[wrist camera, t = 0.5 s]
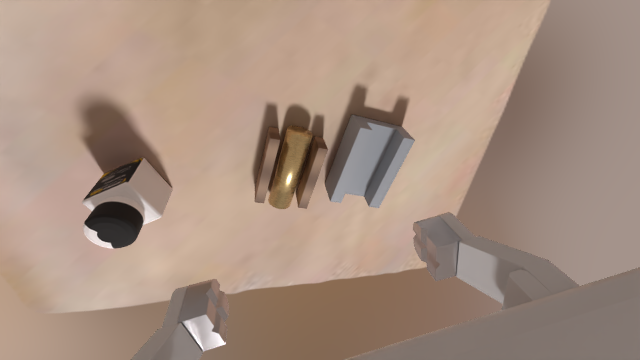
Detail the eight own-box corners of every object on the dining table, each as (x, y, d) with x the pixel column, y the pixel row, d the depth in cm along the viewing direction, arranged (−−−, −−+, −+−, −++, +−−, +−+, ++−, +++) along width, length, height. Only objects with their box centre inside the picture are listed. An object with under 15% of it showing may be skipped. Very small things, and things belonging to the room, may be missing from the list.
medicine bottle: (143, 155, 43) (111, 206, 34) (173, 189, 48) (152, 242, 38) (102, 173, 44) (59, 228, 34) (136, 204, 48) (105, 261, 38)
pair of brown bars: (269, 126, 44) (269, 138, 41) (323, 137, 47) (327, 149, 44) (255, 187, 50) (254, 202, 47) (303, 194, 53) (306, 208, 50)
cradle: (351, 114, 46) (360, 127, 42) (401, 126, 48) (414, 140, 44) (324, 184, 53) (330, 201, 49) (370, 191, 56) (378, 207, 52)
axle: (286, 123, 45) (288, 134, 41) (310, 128, 46) (314, 140, 43) (267, 193, 52) (268, 207, 49) (289, 196, 53) (291, 210, 50)
